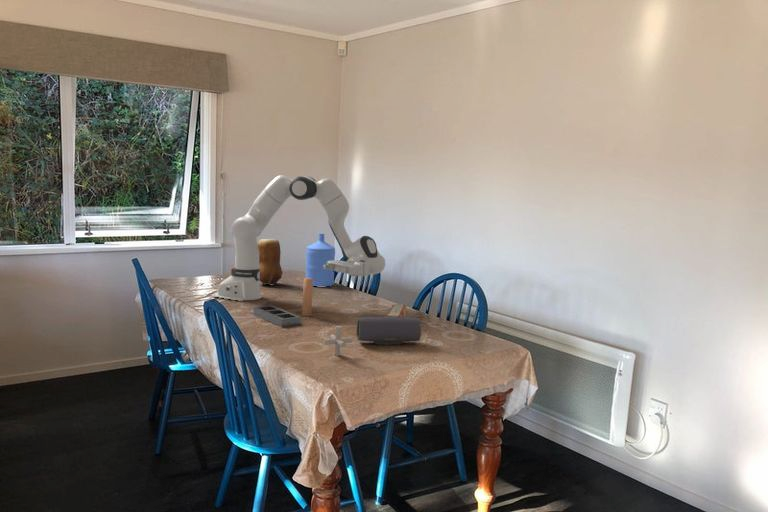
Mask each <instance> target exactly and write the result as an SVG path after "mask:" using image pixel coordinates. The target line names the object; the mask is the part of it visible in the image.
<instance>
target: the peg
mask: <svg viewBox="0 0 768 512" xmlns="http://www.w3.org/2000/svg"><path fill="white" fill-rule="evenodd" d="M302 281H303V282H302V283H303V284H302V285H303V286H302V287H303V289H302V306H301V307H302V309H301V317H302V316H303V317H312V313H313V310H312V309H313V293H314V292H313V290H314V289H313V288H314V287H313V278H306V277H304V278H303V280H302Z"/></svg>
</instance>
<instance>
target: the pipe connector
mask: <svg viewBox="0 0 768 512" xmlns="http://www.w3.org/2000/svg"><path fill="white" fill-rule="evenodd" d="M341 336H342V326H341V325H336V326H335V334H333V333H332V334H330V335H329V338H328V339H327V338H324V339H323V340H322V343H323V346H326V345H334V356H336V357H339V355H340V356H341V348H345V347H346V346H347V344H350V343H352V342H353V337H351V336H349V337H341Z"/></svg>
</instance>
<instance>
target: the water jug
mask: <svg viewBox="0 0 768 512" xmlns="http://www.w3.org/2000/svg"><path fill="white" fill-rule="evenodd" d="M305 251H306V253H305V254H306V258H305V259H306V261H305V262H306V263H305V278H313V286H330V287H333V286H334V284H335V272H334V270H331V269H323V265H326V264H327V261H335V257H336V247H335V246H333V245H331V244H329V243H328V242H326V241H325V234H324V233H318V240H317V241H315V242H314V243H312V244H310V245H307V246H306V250H305ZM332 285H333V286H332Z"/></svg>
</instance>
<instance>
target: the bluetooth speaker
mask: <svg viewBox="0 0 768 512" xmlns="http://www.w3.org/2000/svg"><path fill="white" fill-rule="evenodd" d="M421 328H422V327H421V319H420V318H417V317H416V318H415V317H406V316H405V317H387V316H368V317H367V316H365V317H363V316H362V317H358V318H357V323H356V339H357V340H358V341H362V342H373V344H374V343H375V344H374V345H390V344H395V345H402V344H401V343H405V342H418V341H420V339H421V336H422V335H421V334H422V331H421Z"/></svg>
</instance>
